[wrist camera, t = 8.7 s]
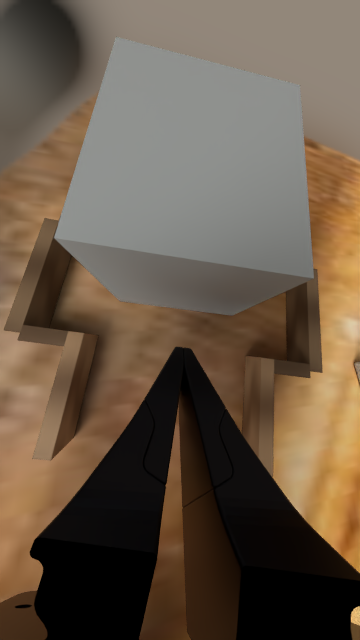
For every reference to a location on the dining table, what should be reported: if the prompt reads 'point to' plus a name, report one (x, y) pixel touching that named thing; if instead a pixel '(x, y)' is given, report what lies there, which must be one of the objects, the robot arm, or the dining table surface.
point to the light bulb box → (357, 369)
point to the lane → (76, 359)
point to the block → (190, 184)
